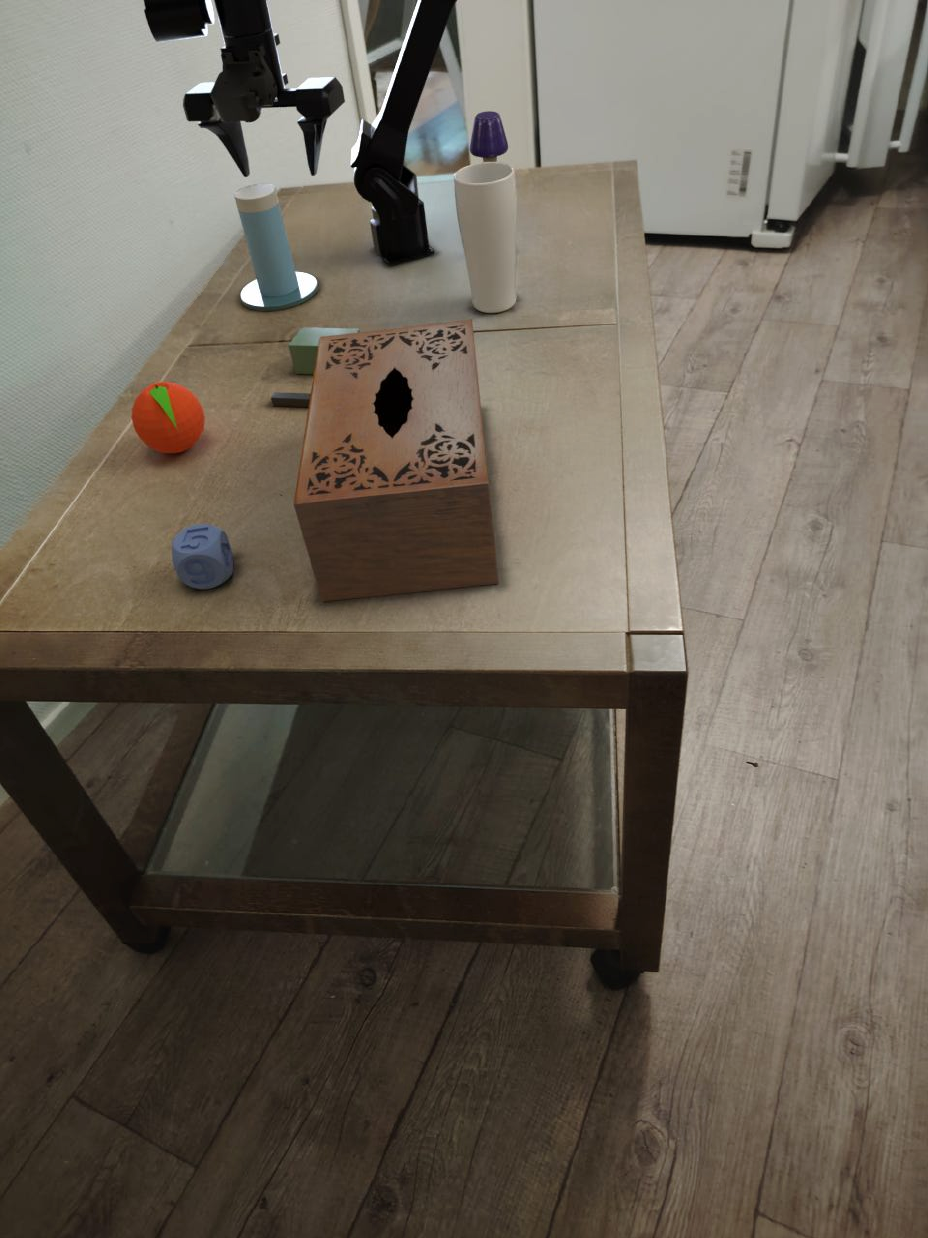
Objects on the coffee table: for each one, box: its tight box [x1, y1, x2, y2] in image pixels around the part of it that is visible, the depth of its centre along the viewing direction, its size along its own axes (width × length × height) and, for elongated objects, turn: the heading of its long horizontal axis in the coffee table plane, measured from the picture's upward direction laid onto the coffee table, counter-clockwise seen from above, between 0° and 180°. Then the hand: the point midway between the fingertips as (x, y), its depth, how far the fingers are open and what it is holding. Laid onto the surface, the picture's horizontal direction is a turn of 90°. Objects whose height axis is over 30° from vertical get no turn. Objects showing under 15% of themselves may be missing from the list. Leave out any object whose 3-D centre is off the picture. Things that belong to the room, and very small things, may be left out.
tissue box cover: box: [292, 319, 500, 603], centre depth 78 cm, size 26×14×10 cm, turn 2°
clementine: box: [131, 381, 206, 454], centre depth 89 cm, size 8×7×7 cm
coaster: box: [239, 271, 319, 312], centre depth 115 cm, size 10×10×1 cm
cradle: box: [270, 327, 361, 408], centre depth 97 cm, size 11×7×4 cm, turn 166°
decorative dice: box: [171, 523, 234, 590], centre depth 75 cm, size 4×4×4 cm
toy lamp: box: [469, 110, 509, 163], centre depth 111 cm, size 5×5×17 cm
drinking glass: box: [453, 161, 518, 314], centre depth 102 cm, size 7×7×15 cm
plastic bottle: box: [233, 183, 298, 297], centre depth 111 cm, size 12×5×12 cm
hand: (280, 175), depth 112 cm, fingers open, 9 cm apart
